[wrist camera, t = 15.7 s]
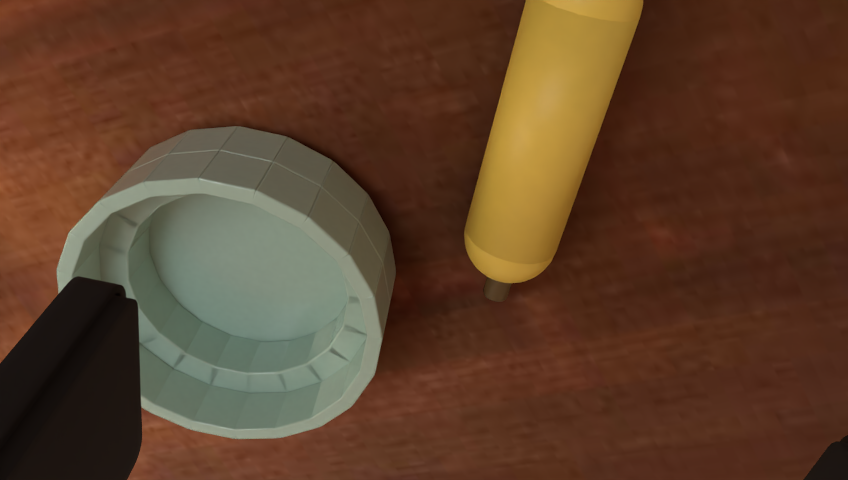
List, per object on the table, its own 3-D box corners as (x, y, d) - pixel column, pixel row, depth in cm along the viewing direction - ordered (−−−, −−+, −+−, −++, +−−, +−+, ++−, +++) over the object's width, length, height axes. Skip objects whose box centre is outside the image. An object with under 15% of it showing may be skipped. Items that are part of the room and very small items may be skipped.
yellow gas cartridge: (521, -77, 22) (613, -41, 20) (594, -72, 24) (684, -39, 22) (431, 280, 29) (492, 333, 27) (493, 258, 31) (554, 306, 29)
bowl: (111, 90, 28) (43, 144, 24) (420, 157, 28) (407, 222, 24) (121, 330, 34) (68, 406, 30) (372, 382, 35) (355, 464, 31)
